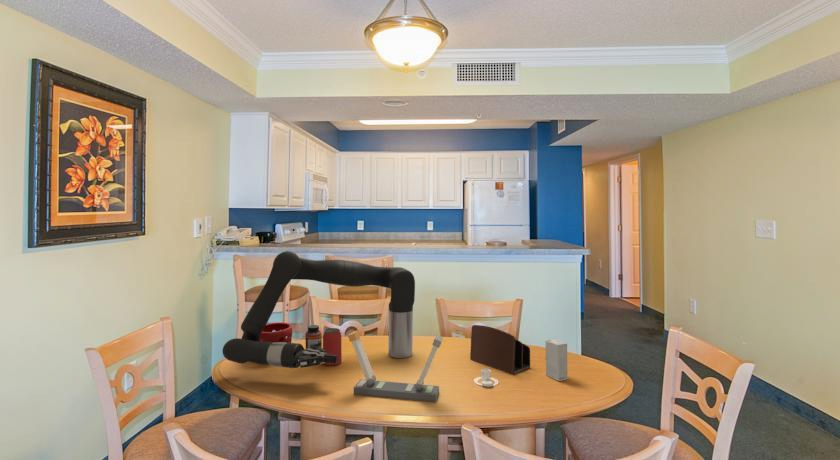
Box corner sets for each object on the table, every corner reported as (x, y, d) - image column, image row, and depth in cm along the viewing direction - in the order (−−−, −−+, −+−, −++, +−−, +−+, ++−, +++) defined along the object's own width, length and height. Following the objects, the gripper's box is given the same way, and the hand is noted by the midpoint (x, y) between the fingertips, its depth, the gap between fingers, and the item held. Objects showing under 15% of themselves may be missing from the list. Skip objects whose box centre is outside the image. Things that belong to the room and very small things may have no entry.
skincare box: (568, 379, 139) (568, 343, 138) (557, 382, 137) (558, 345, 136) (554, 373, 144) (555, 338, 144) (544, 375, 142) (545, 339, 142)
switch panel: (360, 385, 133) (360, 378, 133) (439, 392, 128) (439, 385, 128) (353, 394, 126) (353, 386, 126) (435, 401, 122) (435, 394, 122)
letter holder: (513, 375, 142) (514, 334, 141) (469, 359, 157) (470, 322, 156) (530, 368, 149) (531, 329, 148) (487, 354, 164) (487, 318, 163)
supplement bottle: (307, 353, 163) (307, 324, 162) (322, 352, 163) (322, 323, 163) (304, 358, 157) (304, 328, 156) (320, 358, 157) (320, 328, 157)
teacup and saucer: (491, 390, 130) (492, 378, 130) (468, 385, 135) (468, 372, 134) (502, 381, 138) (502, 369, 138) (479, 376, 142) (480, 364, 142)
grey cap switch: (416, 383, 128) (436, 334, 126) (422, 386, 128) (443, 337, 126) (413, 388, 124) (434, 338, 122) (420, 392, 124) (441, 341, 122)
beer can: (337, 367, 148) (337, 333, 148) (319, 365, 150) (319, 332, 149) (344, 360, 155) (344, 328, 154) (327, 359, 156) (327, 327, 156)
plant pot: (274, 350, 165) (273, 320, 165) (299, 355, 160) (299, 324, 159) (247, 361, 154) (246, 328, 153) (274, 367, 148) (273, 333, 147)
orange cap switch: (371, 381, 131) (352, 332, 131) (377, 379, 130) (358, 329, 131) (367, 387, 127) (347, 335, 127) (373, 385, 126) (354, 333, 127)
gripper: (274, 349, 127) (328, 354, 124) (295, 337, 140) (344, 340, 137) (274, 374, 127) (328, 379, 124) (295, 359, 140) (344, 363, 137)
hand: (336, 359), depth 130 cm, fingers closed
